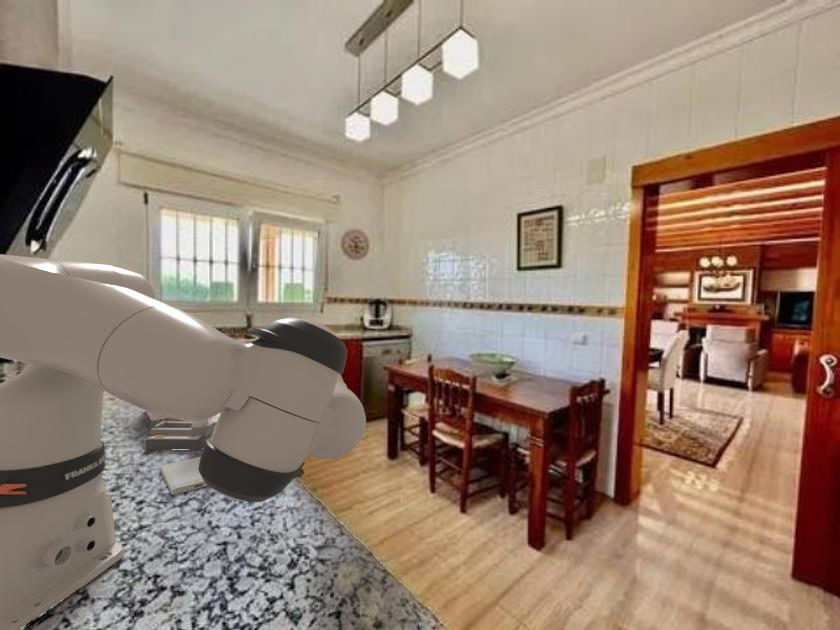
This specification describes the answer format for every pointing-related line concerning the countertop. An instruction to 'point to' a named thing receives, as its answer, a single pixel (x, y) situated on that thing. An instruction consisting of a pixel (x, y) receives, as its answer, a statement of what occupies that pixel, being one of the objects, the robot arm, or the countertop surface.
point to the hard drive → (183, 475)
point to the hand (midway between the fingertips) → (221, 396)
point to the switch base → (178, 436)
